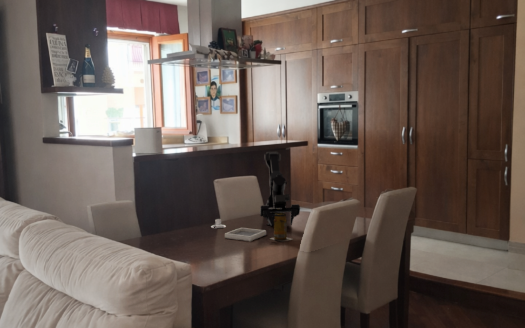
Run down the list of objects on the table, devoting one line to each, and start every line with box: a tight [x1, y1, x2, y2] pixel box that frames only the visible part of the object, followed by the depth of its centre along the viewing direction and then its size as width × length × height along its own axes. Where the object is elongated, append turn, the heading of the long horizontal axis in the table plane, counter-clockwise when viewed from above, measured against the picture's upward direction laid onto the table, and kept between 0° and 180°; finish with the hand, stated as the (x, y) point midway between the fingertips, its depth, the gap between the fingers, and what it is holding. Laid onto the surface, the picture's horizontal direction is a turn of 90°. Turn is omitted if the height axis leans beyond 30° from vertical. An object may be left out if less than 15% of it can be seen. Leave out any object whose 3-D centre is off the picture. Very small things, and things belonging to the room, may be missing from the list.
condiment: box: [269, 212, 293, 242], centre depth 239 cm, size 7×8×12 cm
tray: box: [224, 227, 267, 242], centre depth 246 cm, size 14×14×2 cm
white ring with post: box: [210, 218, 227, 229], centre depth 270 cm, size 9×8×4 cm
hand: (281, 225), depth 238 cm, fingers open, 9 cm apart
